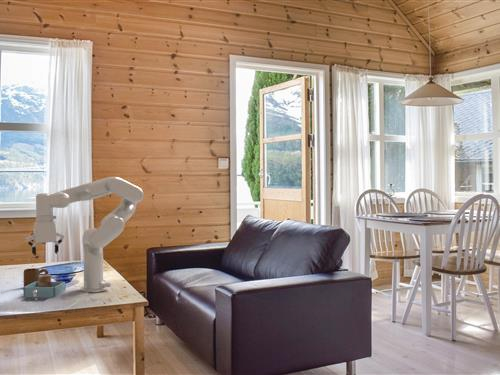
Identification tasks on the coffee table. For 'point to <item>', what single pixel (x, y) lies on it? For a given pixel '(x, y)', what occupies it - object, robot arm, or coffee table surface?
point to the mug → (32, 275)
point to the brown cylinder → (45, 280)
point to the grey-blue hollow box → (34, 297)
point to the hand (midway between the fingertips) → (45, 254)
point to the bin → (45, 289)
